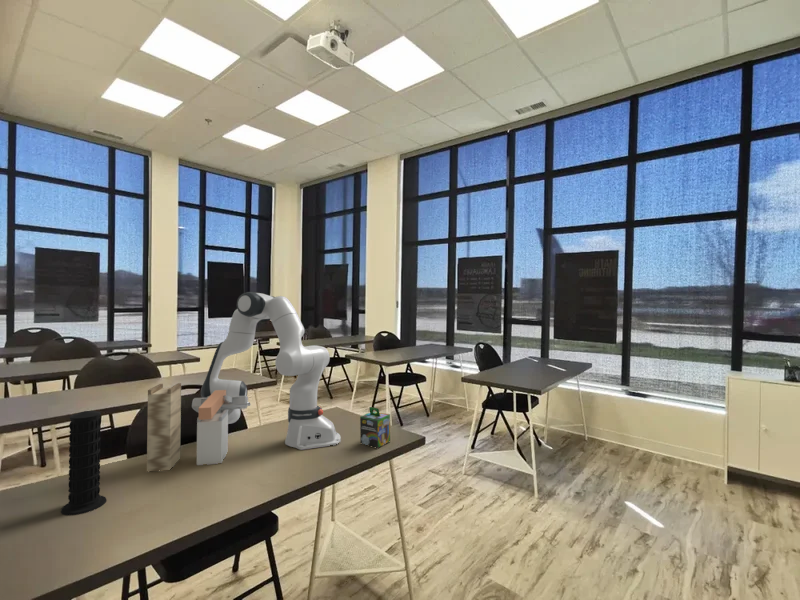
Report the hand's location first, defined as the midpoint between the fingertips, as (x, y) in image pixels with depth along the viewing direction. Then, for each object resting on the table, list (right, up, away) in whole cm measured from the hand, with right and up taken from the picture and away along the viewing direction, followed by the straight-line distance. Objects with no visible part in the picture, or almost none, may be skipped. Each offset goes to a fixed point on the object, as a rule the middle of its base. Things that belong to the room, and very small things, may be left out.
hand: (217, 397), depth 147 cm
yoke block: (+1, -21, -6) cm, 22 cm away
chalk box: (+59, -22, +12) cm, 64 cm away
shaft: (+1, -3, -5) cm, 6 cm away
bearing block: (-13, -21, -12) cm, 27 cm away
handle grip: (-19, -21, -39) cm, 48 cm away
